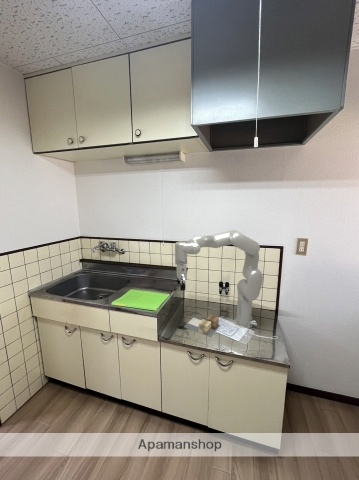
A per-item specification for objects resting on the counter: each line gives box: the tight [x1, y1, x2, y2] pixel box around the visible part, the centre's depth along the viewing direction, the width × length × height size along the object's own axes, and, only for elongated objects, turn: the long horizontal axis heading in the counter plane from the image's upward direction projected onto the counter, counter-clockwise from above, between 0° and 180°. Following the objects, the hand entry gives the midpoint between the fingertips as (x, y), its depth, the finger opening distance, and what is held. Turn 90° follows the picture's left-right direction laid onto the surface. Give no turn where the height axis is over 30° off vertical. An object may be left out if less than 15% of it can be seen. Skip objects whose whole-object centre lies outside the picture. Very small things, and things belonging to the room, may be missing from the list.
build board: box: [183, 316, 221, 338], centre depth 149 cm, size 20×15×1 cm
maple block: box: [199, 318, 211, 336], centre depth 143 cm, size 6×6×6 cm
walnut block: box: [206, 314, 220, 330], centre depth 148 cm, size 6×6×6 cm
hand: (181, 286), depth 141 cm, fingers open, 9 cm apart
